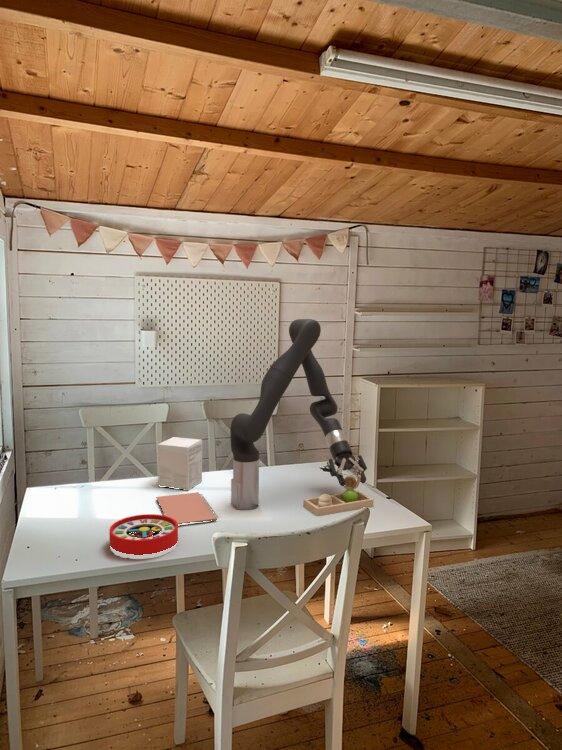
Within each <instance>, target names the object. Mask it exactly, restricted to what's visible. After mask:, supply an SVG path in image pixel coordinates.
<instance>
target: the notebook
mask: <svg viewBox="0 0 562 750" xmlns="http://www.w3.org/2000/svg"><path fill="white" fill-rule="evenodd" d="M157 500H158V502H159V504H160V506H161V508H162V510H163V512H164V514H165V516H168V517H170V518H173V519H174V520H176V521H177V523H178V524H182V523H190V522H203V521H211V520H212V521H216V520H217V521H218V519H217V517H218V518H219V516H218V514H217V512H216V511H215V510H214V508H213V507H212V506H211V505H210V503H209V502H208V501H207V499H206V498H205V496H204V495H203V494H202V493H199V492H198V491H197V492H196V491H195V492H190V493H189V492H188V493H187V492H186V493H180V494H179V493H178V494H171V495H170V494H169V495H161V496H156V501H157ZM158 502H157V503H158ZM159 504H158V505H159ZM160 506H159V507H160ZM161 508H160V509H161ZM211 509H212V510H211ZM162 510H161V511H162ZM163 512H162V513H163ZM213 512H214V513H213ZM164 514H163V515H164ZM215 515H216V516H215Z"/></svg>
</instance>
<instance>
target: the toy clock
mask: <svg viewBox="0 0 562 750" xmlns="http://www.w3.org/2000/svg"><path fill="white" fill-rule="evenodd" d="M108 531H109V533H108V535H109V547H110V546H111V547H112V548H113V549H115V550H116V551H119V552H122V553H126V554H134V555H143V554H152V553H157V552H160V551H163V550H166V549H168V548H171V547H172V546H174V545H175V544H176V543H177V541H178V542H179V526H178V523H177V521H176V520H174V519H173V518H170V517H168V516H164V514H163V515H162V514H151V513H150V514H136V515H131V516H127V517H125V518H122V519H119V520H117V521H115V522H114V523H112V524H111V525H110V527H109V530H108ZM152 531H153V532H155V533H153V532H152ZM160 531H161V532H160ZM131 532H132V533H131ZM133 532H134V533H133ZM135 532H136V533H135ZM159 532H160V533H159ZM129 533H131V534H129ZM132 534H134V535H132ZM152 535H153V536H152ZM135 537H137V538H135Z"/></svg>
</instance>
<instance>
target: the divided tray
mask: <svg viewBox="0 0 562 750" xmlns="http://www.w3.org/2000/svg"><path fill="white" fill-rule="evenodd" d="M355 491H356V492H357V494H358V499H357V501H355V502H349V503H346V502H345V501H344V500H343V493H344V492H343V493H335V494H330V497H331V499H332V505H330V506H324V507H318V504H319V497H320V496H317V497H310V498H304V499H303V501H302V502H303V508H305V509H306V510H308V511H309V512H311V513H312V514H313V515H315V516H316V517H320V516H325V515H330V514H339V513H342V512H343V513H344V512H350V511H355V510H360V509H364V508H363V507H367V508H373V507H374V499H373V498H371V497H370V496H369V495H368V496H367V495H366V494H364V493H363V492H360V491H359V490H355Z"/></svg>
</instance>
